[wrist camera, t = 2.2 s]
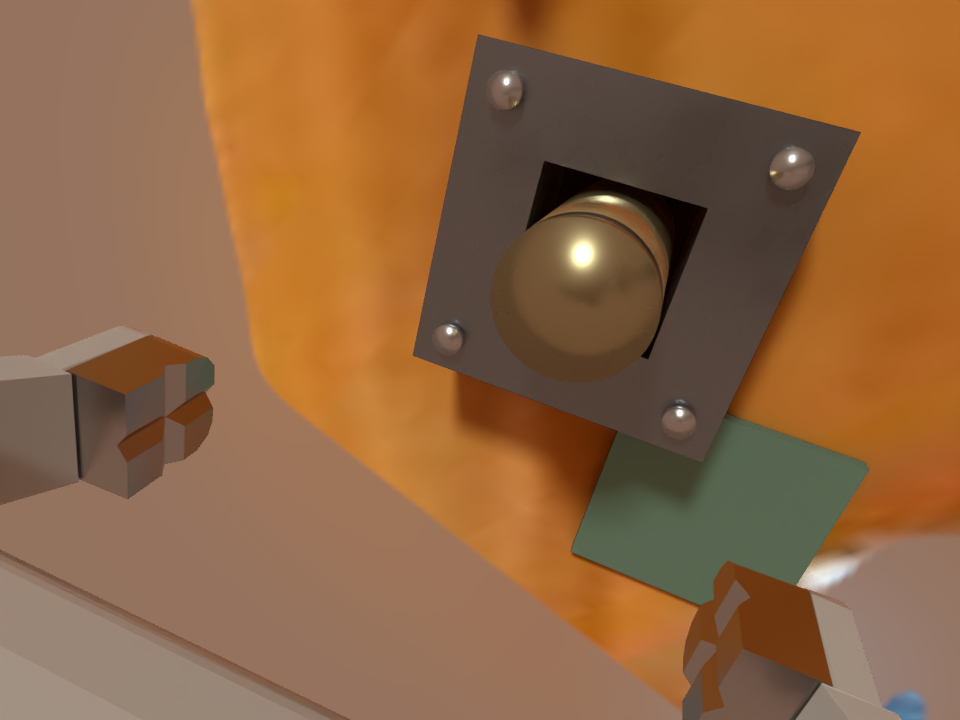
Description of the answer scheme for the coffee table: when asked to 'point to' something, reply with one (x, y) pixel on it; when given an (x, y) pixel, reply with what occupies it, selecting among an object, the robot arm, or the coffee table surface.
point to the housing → (646, 165)
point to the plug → (586, 283)
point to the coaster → (715, 508)
